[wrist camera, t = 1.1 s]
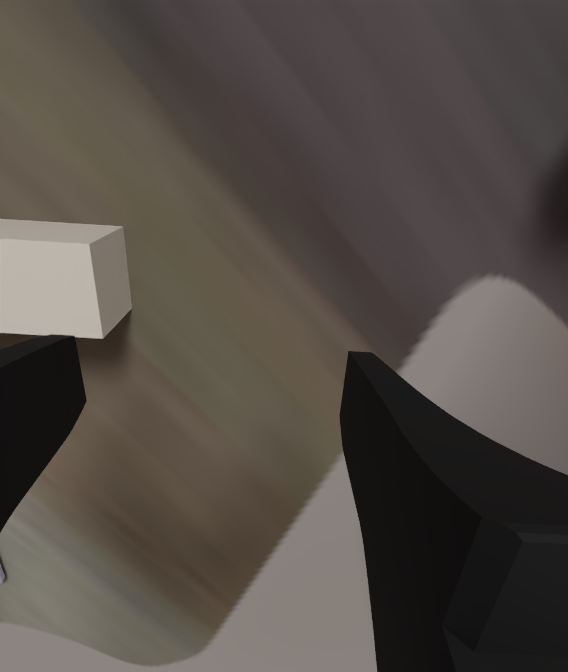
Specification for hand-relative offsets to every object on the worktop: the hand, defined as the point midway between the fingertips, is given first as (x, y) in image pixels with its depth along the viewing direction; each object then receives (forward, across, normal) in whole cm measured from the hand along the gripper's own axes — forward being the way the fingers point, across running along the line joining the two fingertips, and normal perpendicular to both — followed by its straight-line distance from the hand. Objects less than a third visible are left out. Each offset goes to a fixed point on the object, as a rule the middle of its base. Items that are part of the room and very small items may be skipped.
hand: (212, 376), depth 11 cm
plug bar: (+10, +11, 0) cm, 14 cm away
